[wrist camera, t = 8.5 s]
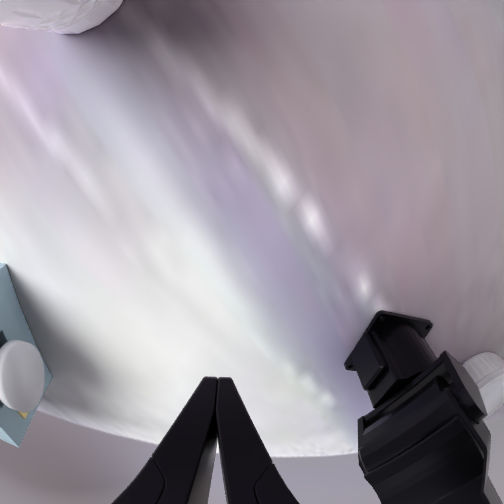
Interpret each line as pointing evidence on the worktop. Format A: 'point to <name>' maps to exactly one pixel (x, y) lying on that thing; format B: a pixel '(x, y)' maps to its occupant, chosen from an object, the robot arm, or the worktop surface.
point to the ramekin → (488, 378)
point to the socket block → (3, 330)
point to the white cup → (56, 14)
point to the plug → (21, 375)
